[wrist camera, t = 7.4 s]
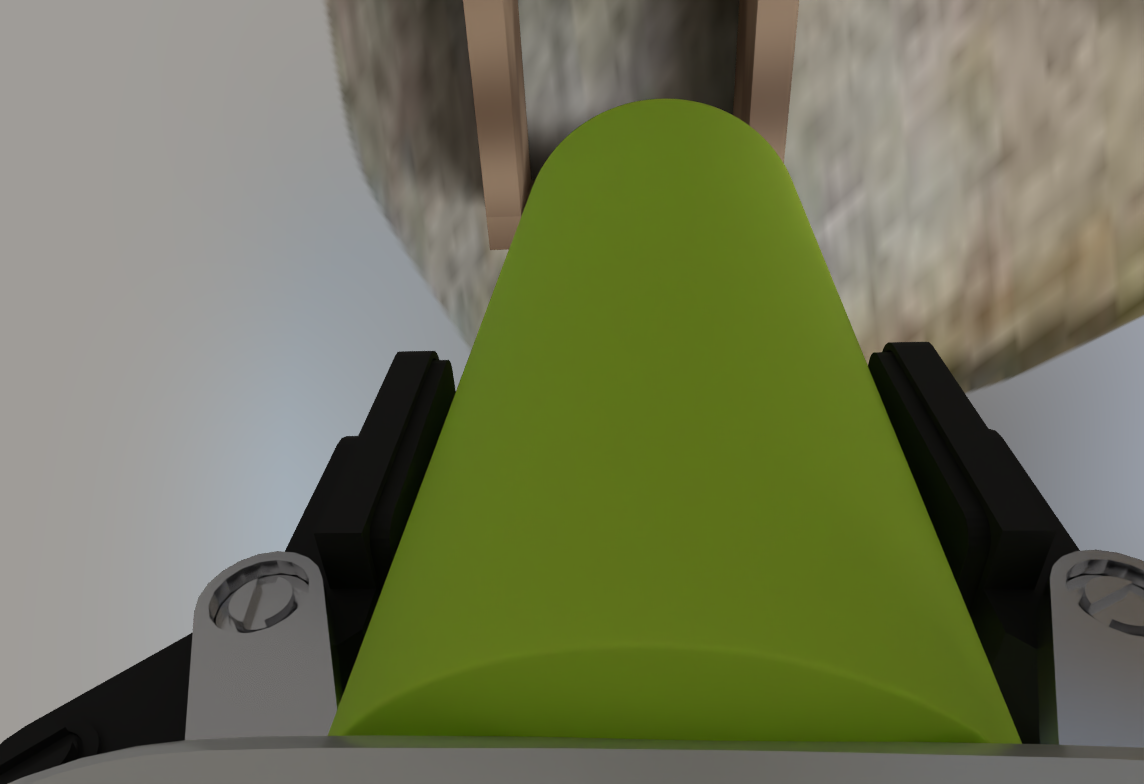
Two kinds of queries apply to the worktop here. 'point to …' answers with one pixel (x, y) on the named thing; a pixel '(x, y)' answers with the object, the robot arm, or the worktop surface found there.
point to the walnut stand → (503, 107)
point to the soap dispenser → (670, 483)
